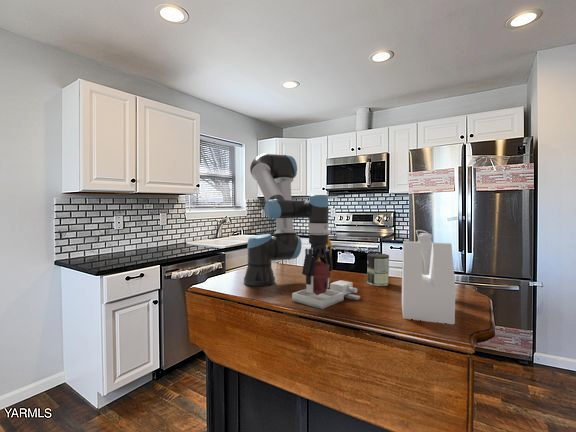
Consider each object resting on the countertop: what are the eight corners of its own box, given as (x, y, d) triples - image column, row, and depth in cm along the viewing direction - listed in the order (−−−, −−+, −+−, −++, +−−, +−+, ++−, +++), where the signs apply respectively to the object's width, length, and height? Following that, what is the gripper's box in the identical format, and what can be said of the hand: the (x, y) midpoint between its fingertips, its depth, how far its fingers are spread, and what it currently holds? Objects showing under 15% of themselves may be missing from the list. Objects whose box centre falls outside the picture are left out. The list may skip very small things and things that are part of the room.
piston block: (330, 292, 128) (330, 283, 128) (340, 289, 134) (340, 280, 133) (351, 297, 121) (351, 287, 121) (360, 293, 127) (361, 284, 127)
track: (333, 294, 130) (333, 292, 129) (337, 293, 132) (337, 290, 132) (356, 300, 122) (356, 297, 122) (360, 298, 124) (360, 296, 124)
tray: (292, 300, 121) (292, 293, 121) (314, 293, 132) (314, 286, 132) (322, 309, 111) (322, 300, 111) (343, 300, 122) (343, 292, 122)
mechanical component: (331, 290, 125) (329, 297, 115) (307, 288, 127) (303, 295, 117) (331, 260, 125) (330, 264, 115) (307, 259, 127) (304, 263, 117)
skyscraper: (421, 297, 127) (423, 230, 126) (410, 292, 135) (411, 229, 134) (439, 296, 129) (440, 230, 128) (426, 291, 137) (428, 229, 136)
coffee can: (363, 283, 148) (364, 255, 148) (371, 279, 157) (371, 252, 156) (384, 287, 142) (385, 257, 142) (391, 282, 151) (392, 254, 150)
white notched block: (454, 324, 97) (456, 246, 96) (403, 318, 102) (404, 244, 102) (444, 306, 115) (446, 240, 115) (401, 302, 120) (402, 239, 120)
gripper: (308, 236, 110) (307, 297, 110) (342, 232, 127) (341, 286, 127) (292, 235, 115) (292, 293, 115) (327, 231, 132) (326, 282, 132)
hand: (318, 289), depth 121 cm, fingers closed on mechanical component, 10 cm apart
